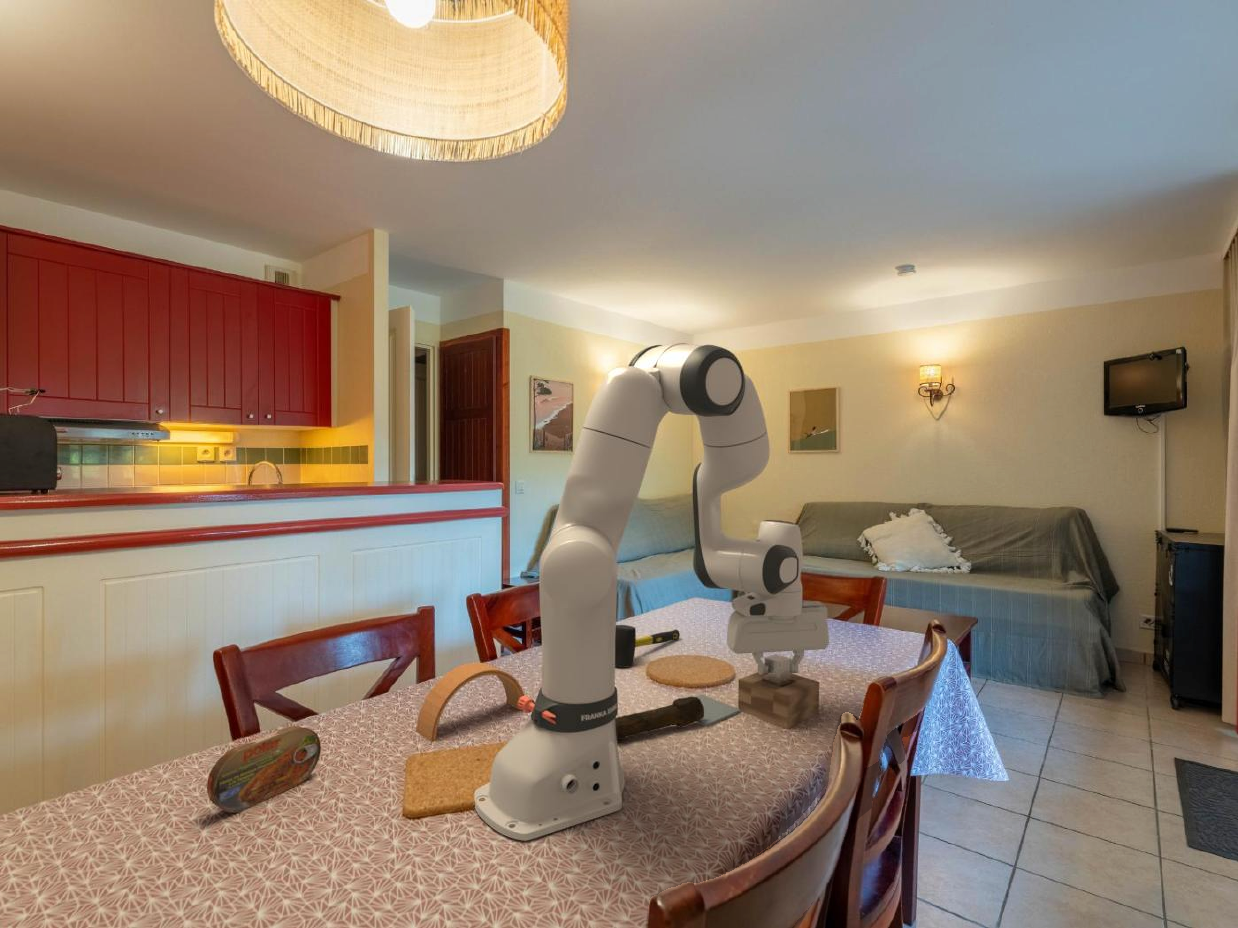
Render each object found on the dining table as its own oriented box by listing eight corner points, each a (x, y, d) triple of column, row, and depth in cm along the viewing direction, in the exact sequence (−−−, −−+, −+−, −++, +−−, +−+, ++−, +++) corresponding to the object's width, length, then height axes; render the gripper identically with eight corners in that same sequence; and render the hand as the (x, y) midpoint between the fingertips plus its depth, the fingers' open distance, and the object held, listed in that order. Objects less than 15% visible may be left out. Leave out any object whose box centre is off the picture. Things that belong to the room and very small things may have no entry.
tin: (214, 824, 79) (214, 761, 79) (203, 817, 81) (203, 755, 81) (322, 774, 92) (322, 720, 92) (310, 769, 94) (310, 715, 94)
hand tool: (615, 746, 102) (614, 719, 102) (606, 735, 106) (606, 709, 106) (711, 725, 109) (711, 700, 109) (700, 716, 113) (700, 692, 113)
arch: (415, 731, 107) (416, 676, 107) (510, 701, 121) (510, 652, 121) (430, 742, 103) (431, 685, 103) (526, 710, 117) (527, 659, 117)
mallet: (667, 638, 166) (667, 603, 166) (686, 641, 163) (686, 606, 163) (604, 666, 142) (604, 626, 142) (625, 672, 139) (625, 630, 139)
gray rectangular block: (779, 704, 115) (780, 662, 115) (764, 698, 117) (764, 657, 117) (790, 699, 117) (791, 658, 117) (775, 693, 120) (775, 654, 120)
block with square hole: (786, 728, 109) (787, 696, 109) (738, 709, 118) (738, 679, 118) (818, 712, 117) (819, 681, 117) (770, 695, 125) (771, 666, 125)
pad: (707, 726, 110) (707, 723, 110) (668, 709, 117) (668, 706, 117) (740, 712, 117) (740, 709, 117) (701, 696, 124) (701, 694, 124)
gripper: (818, 597, 122) (818, 664, 122) (724, 600, 118) (723, 670, 118) (835, 604, 116) (834, 675, 116) (736, 608, 112) (735, 681, 112)
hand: (777, 672), depth 117 cm, fingers closed on gray rectangular block, 5 cm apart
